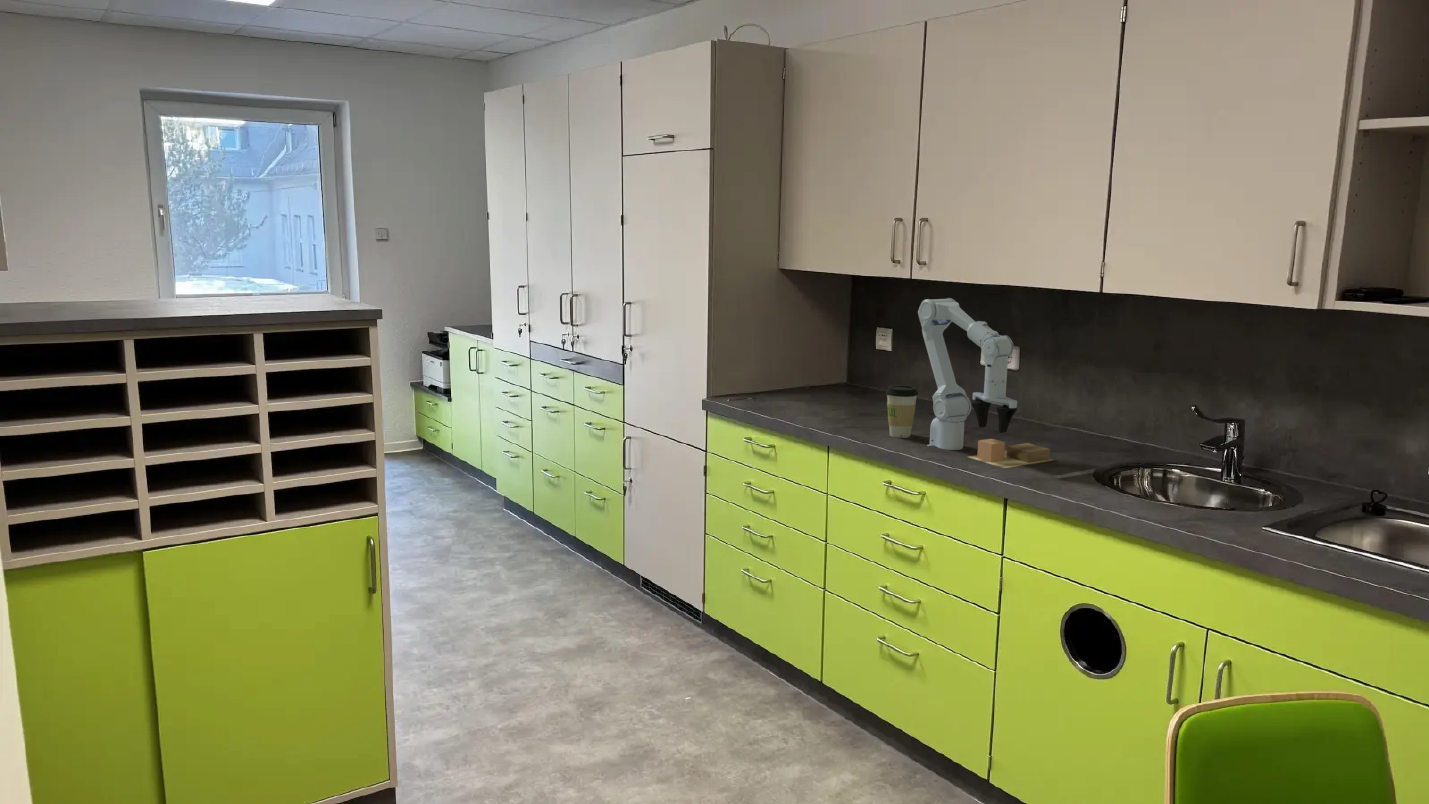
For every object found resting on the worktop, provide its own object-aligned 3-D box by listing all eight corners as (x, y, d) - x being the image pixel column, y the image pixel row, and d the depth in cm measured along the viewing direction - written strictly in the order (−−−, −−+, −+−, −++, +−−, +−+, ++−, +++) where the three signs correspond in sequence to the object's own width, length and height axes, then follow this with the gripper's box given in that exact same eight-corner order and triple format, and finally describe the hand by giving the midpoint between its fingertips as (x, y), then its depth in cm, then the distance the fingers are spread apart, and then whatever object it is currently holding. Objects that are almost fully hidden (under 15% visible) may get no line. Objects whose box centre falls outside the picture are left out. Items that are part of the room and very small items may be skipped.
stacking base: (966, 459, 264) (967, 446, 263) (1015, 451, 273) (1016, 438, 272) (1004, 471, 252) (1005, 457, 251) (1054, 462, 261) (1055, 449, 260)
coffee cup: (890, 430, 300) (892, 383, 297) (920, 434, 295) (923, 386, 292) (879, 436, 291) (881, 388, 288) (909, 440, 286) (912, 391, 284)
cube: (977, 458, 263) (978, 440, 262) (990, 456, 265) (991, 438, 264) (990, 462, 258) (991, 444, 257) (1003, 460, 261) (1005, 442, 260)
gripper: (965, 377, 262) (962, 425, 264) (1004, 385, 249) (1001, 436, 252) (984, 375, 265) (981, 423, 268) (1024, 383, 253) (1020, 433, 255)
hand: (992, 429), depth 260 cm, fingers open, 7 cm apart
